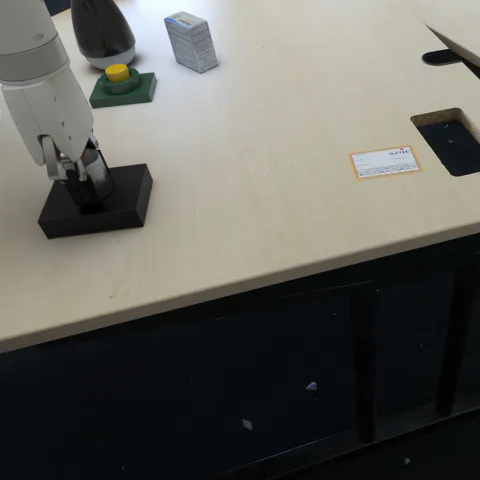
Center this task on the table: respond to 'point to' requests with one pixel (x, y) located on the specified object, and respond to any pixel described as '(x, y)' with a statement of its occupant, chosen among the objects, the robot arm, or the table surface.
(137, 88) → the button housing
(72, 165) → the knob
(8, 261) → the table surface
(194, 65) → the medicine box
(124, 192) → the dial panel
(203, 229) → the table surface
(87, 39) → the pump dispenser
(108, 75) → the yellow push button
